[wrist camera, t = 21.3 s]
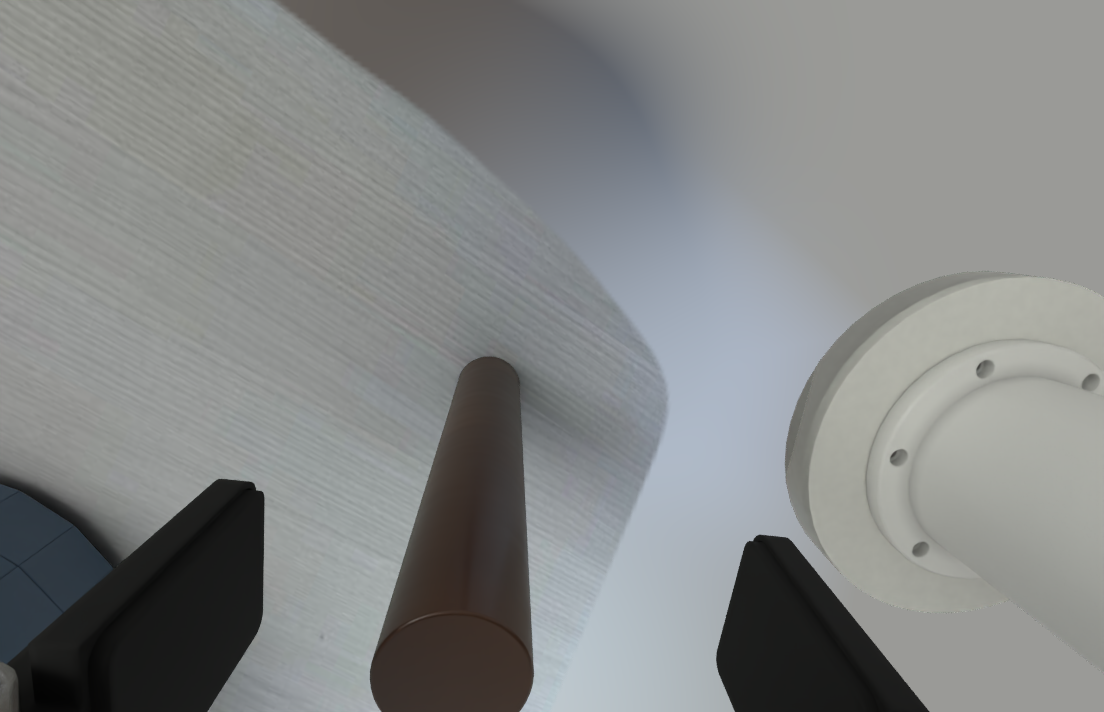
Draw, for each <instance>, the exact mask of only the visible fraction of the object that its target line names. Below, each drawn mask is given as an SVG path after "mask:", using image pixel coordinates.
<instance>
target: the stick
mask: <svg viewBox="0 0 1104 712" xmlns="http://www.w3.org/2000/svg"><path fill="white" fill-rule="evenodd" d="M533 677H534V669H533V648H532V628H531V607H530V587H529V566H528V546H527V526H526V505H525V485H524V464H523V444H522V423H521V403H520V383H519V378H518V375H517V373H516V371H515V370H514V368H513V367H512V366H511V365H510V364H509V363H507V362H506V361H504V360H502V359H499V358H496V357H481V358H478V359H475V360H473V361H472V362H470V363H469V364H468V365H467V366H466V367H465V368H464V369H463V370H462V372H461V374H460V377H459V380H458V383H457V386H456V389H455V393H454V396H453V399H452V403H451V406H450V409H449V412H448V416H447V419H446V422H445V425H444V429H443V432H442V435H441V438H440V442H439V445H438V448H437V451H436V455H435V458H434V461H433V465H432V468H431V471H430V474H429V478H428V481H427V484H426V487H425V491H424V494H423V497H422V500H421V504H420V507H419V510H418V513H417V517H416V520H415V523H414V527H413V530H412V533H411V536H410V540H409V543H408V546H407V549H406V553H405V556H404V559H403V562H402V566H401V569H400V572H399V575H398V579H397V582H396V585H395V588H394V592H393V595H392V598H391V602H390V605H389V608H388V611H387V615H386V618H385V621H384V624H383V628H382V631H381V634H380V637H379V641H378V644H377V647H376V650H375V654H374V657H373V660H372V664H371V669H370V684H371V690H372V693H373V697H374V700H375V702H376V704H377V706H378V707H379V709H380V710H381V712H519V711H520V710H521V709H522V707H523V706H524V704H525V703H526V701H527V699H528V696H529V694H530V692H531V688H532V685H533Z"/></svg>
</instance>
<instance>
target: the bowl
mask: <svg viewBox="0 0 1104 712" xmlns="http://www.w3.org/2000/svg"><path fill="white" fill-rule="evenodd" d="M112 570H113V567H112V566H111V565H110V564H109V562H108V561H107V560H106V559H105V558H104V557H103V556H102V555H101V554H100V553H99V552H98V550H97V549H96V548H95V547H94V546H93V545H92V544H91V543H90V542H89V541H88V539H87V538H86V537H85V536H84V535H83V534H82V533H81V532H80V531H79V530H78V528H77V527H76V526H74V525H73V524H72V523H70V522H69V521H67V520H66V519H64V518H62V517H61V516H59V515H58V514H56V513H55V512H53V511H51V510H50V509H48V508H47V507H45V506H44V505H42V504H41V503H39V502H37V501H36V500H34V499H33V498H31V497H30V496H28V495H26V494H25V493H23V492H22V491H19V490H17V489H14V488H11V487H8V486H5V485H2V484H0V662H3V663H5V664H7V663H8V662H10V661H11V660H12V659H13V658H14V657H15V656H17V655H18V654H19V653H20V652H21V651H22V650H23V649H25V648H26V647H27V646H28V643H30V642H31V641H32V640H33V639H34V638H35V637H36V636H38V635H39V634H40V633H41V632H42V631H43V630H44V629H46V628H47V627H48V626H49V625H50V624H51V623H53V622H54V621H55V620H56V619H57V618H58V617H59V616H61V615H62V614H63V613H64V612H65V611H66V610H67V609H69V608H70V607H71V606H72V605H73V604H74V603H76V602H77V601H78V600H79V599H80V598H81V597H82V596H84V595H85V594H86V593H87V592H88V591H89V590H90V589H92V588H93V587H94V586H95V585H96V584H97V583H99V582H100V581H101V580H102V579H103V578H104V577H105V576H107V575H108V574H109V573H110V572H111V571H112Z"/></svg>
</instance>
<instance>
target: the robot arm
mask: <svg viewBox="0 0 1104 712" xmlns="http://www.w3.org/2000/svg"><path fill="white" fill-rule="evenodd" d="M866 483H867V499H868V503H869V506H870V510H871V514H872V517H873V519H874V521H875V523H876V524H877V526H878V528H879V530H880V532H881V533H882V535H883V536H884V537H885V538H886V539H887V540H888V541H889V542H890V544H891V545H892V546H893V547H894V548H895V549H896V550H898V551H899V552H900V553H901V554H902V555H903V556H904V557H906V558H907V559H908V560H909V561H911V562H912V563H914V564H916V565H918V566H920V567H921V568H923V569H925V570H927V571H929V572H932V573H936V574H939V575H943V576H946V577H953V578H965V579H974V578H983V579H984V580H985V581H986V582H988V583H989V584H990V585H991V586H993V587H994V588H995V589H997V590H998V591H999V592H1000V593H1002V594H1003V595H1004V596H1005V597H1007V598H1008V599H1009V600H1011V601H1012V602H1013V603H1014V604H1016V605H1017V606H1018V607H1019V608H1021V609H1022V610H1023V611H1025V612H1026V613H1027V614H1028V615H1030V616H1031V617H1032V618H1033V619H1035V620H1036V621H1037V622H1039V623H1040V624H1041V625H1042V626H1044V627H1045V628H1046V629H1048V630H1049V631H1050V632H1051V633H1053V634H1054V635H1055V636H1056V637H1058V638H1059V639H1060V640H1062V641H1063V642H1064V643H1065V644H1066V645H1068V646H1069V647H1070V648H1072V649H1073V650H1074V651H1075V652H1077V653H1078V654H1079V655H1081V656H1082V657H1083V658H1084V659H1086V660H1087V661H1088V662H1090V663H1091V664H1092V665H1093V666H1095V667H1096V668H1097V669H1098V670H1100V671H1101V672H1102V673H1104V371H1103V370H1101V369H1100V368H1099V367H1098V366H1097V365H1096V364H1095V363H1094V362H1093V361H1091V360H1090V359H1089V358H1087V357H1085V356H1083V355H1081V354H1079V353H1077V352H1075V351H1073V350H1071V349H1068V348H1064V347H1061V346H1057V345H1053V344H1050V343H1046V342H1041V341H1034V340H1027V339H1011V340H997V341H993V342H989V343H985V344H981V345H977V346H973V347H971V348H969V349H966V350H964V351H962V352H960V353H957V354H955V355H953V356H951V357H949V358H947V359H945V360H944V361H942V362H941V363H939V364H938V365H936V366H935V367H933V368H932V369H930V370H929V371H927V372H926V373H925V374H924V375H922V376H921V377H920V378H919V379H918V380H917V381H916V382H915V383H914V384H912V385H911V386H910V387H909V388H908V389H907V390H906V391H905V392H904V394H903V395H902V396H901V397H900V399H899V400H898V401H897V402H896V404H895V405H894V406H893V407H892V408H891V410H890V411H889V413H888V415H887V417H886V418H885V420H884V422H883V424H882V425H881V427H880V429H879V431H878V433H877V436H876V438H875V441H874V444H873V447H872V449H871V452H870V456H869V462H868V468H867V474H866ZM263 566H264V494H263V492H262V491H256V488H255V485H254V483H252V482H247V481H237V480H228V479H218V480H216V481H215V482H214V483H212V484H211V485H210V486H209V487H208V488H207V489H206V490H204V491H203V492H202V493H201V494H200V495H199V496H197V497H196V498H195V499H194V500H193V501H192V502H191V503H189V504H188V505H187V506H186V507H185V508H184V509H183V510H181V511H180V512H179V513H178V514H177V515H176V516H174V517H173V518H172V519H171V520H170V521H169V522H168V523H166V524H165V525H164V526H163V527H162V528H161V529H160V530H158V531H157V532H156V533H155V534H154V535H153V536H151V537H150V538H149V539H148V540H147V541H146V542H145V543H143V544H142V545H141V546H140V547H139V548H138V549H136V550H135V551H134V552H133V553H132V554H131V555H130V556H128V557H127V558H126V559H125V560H124V561H123V562H122V563H120V564H119V565H118V566H117V567H116V568H115V569H113V570H112V571H111V572H110V573H109V574H108V575H107V576H105V577H104V578H103V579H102V580H101V581H100V582H99V583H97V584H96V585H95V586H94V587H93V588H92V589H90V590H89V591H88V592H87V593H86V594H85V595H84V596H82V597H81V598H80V599H79V600H78V601H77V602H76V603H74V604H73V605H72V606H71V607H70V608H69V609H67V610H66V611H65V612H64V613H63V614H62V615H61V616H59V617H58V618H57V619H56V620H55V621H54V622H53V623H51V624H50V625H49V626H48V627H47V628H46V629H44V630H43V631H42V632H41V633H40V634H39V635H38V636H36V637H35V638H34V639H33V640H32V641H31V642H30V643H28V646H27V647H26V648H25V649H23V650H22V651H21V652H20V653H19V654H18V655H17V656H15V657H14V658H13V659H12V660H11V661H10V662H8V663H7V664H5V663H3V662H0V712H207V711H208V710H209V708H210V707H211V705H212V703H213V702H214V700H215V699H216V697H217V696H218V694H219V692H220V691H221V689H222V688H223V686H224V685H225V683H226V681H227V680H228V678H229V677H230V675H231V674H232V672H233V670H234V669H235V667H236V666H237V664H238V662H239V661H240V659H241V658H242V656H243V655H244V653H245V651H246V650H247V648H248V647H249V645H250V644H251V642H252V640H253V639H254V637H255V636H256V634H257V632H258V630H259V627H260V624H261V620H262V615H263ZM716 661H717V668H718V672H719V675H720V677H721V679H722V682H723V684H724V687H725V689H726V691H727V694H728V696H729V698H730V701H731V703H732V705H733V708H734V710H735V712H929V711H928V710H927V708H926V707H925V706H924V704H923V703H922V702H921V701H920V700H919V698H918V697H917V696H916V695H915V693H914V692H913V691H912V690H911V689H910V687H909V686H908V685H907V683H906V682H905V681H904V680H903V679H902V677H901V676H900V675H899V674H898V672H897V671H896V670H895V669H894V668H893V666H892V665H891V664H890V662H889V661H888V660H887V659H886V657H885V656H884V655H883V654H882V653H881V651H880V650H879V649H878V648H877V646H876V645H875V644H874V643H873V641H872V640H871V639H870V638H869V637H868V635H867V634H866V633H865V632H864V630H863V629H862V628H861V627H860V625H859V624H858V623H857V622H856V621H855V619H854V618H853V617H852V615H851V614H850V613H849V612H848V610H847V609H846V608H845V607H844V606H843V604H842V603H841V602H840V601H839V599H838V598H837V597H836V596H835V594H834V593H833V592H832V591H831V589H830V588H829V587H828V586H827V585H826V583H825V582H824V581H823V580H822V578H821V577H820V576H819V575H818V574H817V572H816V571H815V570H814V568H813V567H812V566H811V565H810V564H809V562H808V561H807V560H806V559H805V557H804V556H803V555H802V554H801V553H800V551H799V550H798V549H797V547H796V546H795V545H794V544H793V542H792V541H791V540H789V539H788V538H785V537H776V536H767V535H758V536H756V537H755V538H754V540H753V541H749V542H747V543H746V545H745V547H744V551H743V555H742V559H741V562H740V566H739V570H738V573H737V577H736V581H735V585H734V589H733V592H732V597H731V600H730V604H729V608H728V612H727V615H726V619H725V623H724V626H723V630H722V634H721V638H720V642H719V646H718V649H717V657H716Z"/></svg>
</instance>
